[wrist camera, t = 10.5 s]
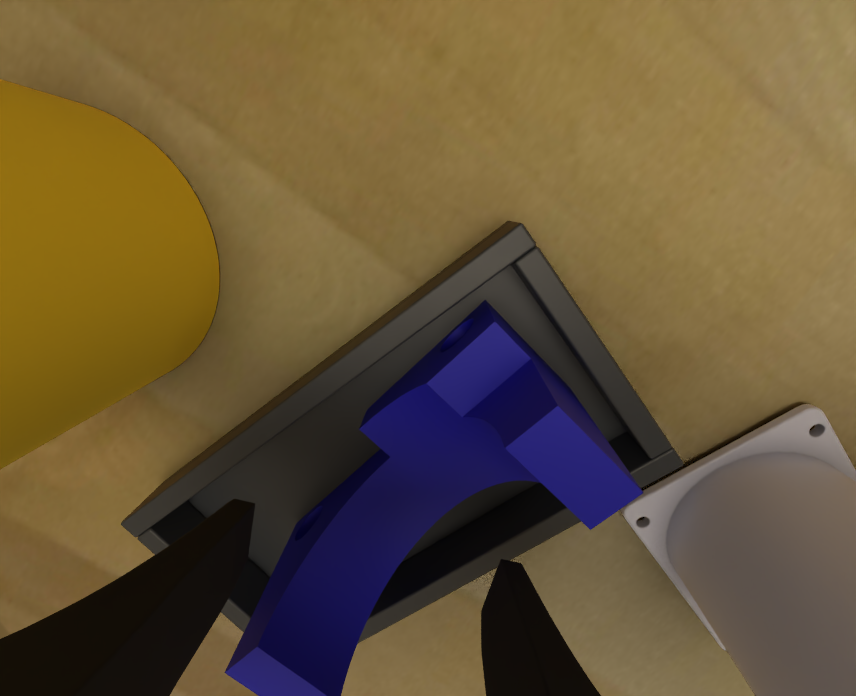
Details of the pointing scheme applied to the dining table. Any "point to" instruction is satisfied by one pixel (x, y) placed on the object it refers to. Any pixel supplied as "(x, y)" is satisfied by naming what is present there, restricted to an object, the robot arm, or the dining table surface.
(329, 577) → the blue piece
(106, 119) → the yellow toilet paper roll
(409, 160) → the dining table surface
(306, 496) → the holder
